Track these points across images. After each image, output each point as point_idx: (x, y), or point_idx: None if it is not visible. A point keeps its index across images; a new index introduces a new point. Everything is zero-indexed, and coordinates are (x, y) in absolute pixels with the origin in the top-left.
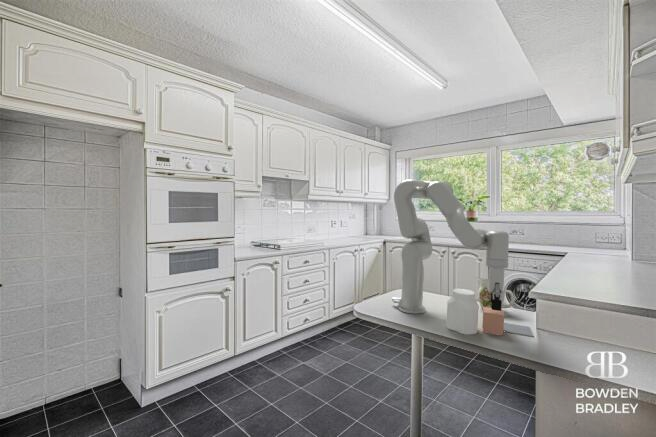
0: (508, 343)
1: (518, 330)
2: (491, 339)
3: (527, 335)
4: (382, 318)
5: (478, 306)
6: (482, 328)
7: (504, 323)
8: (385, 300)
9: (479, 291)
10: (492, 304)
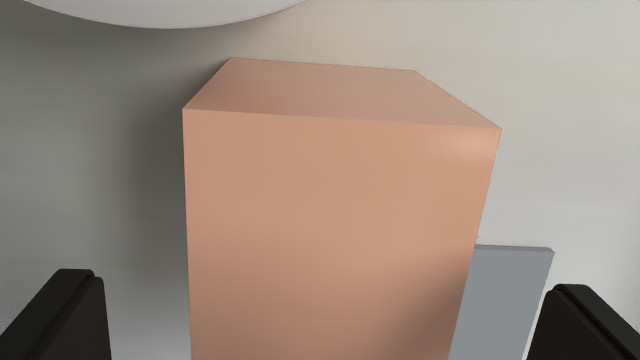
0: (81, 245)
1: None
2: (84, 124)
3: None
4: None
5: (72, 12)
6: (292, 64)
7: (526, 268)
8: None
9: None
10: (5, 344)
